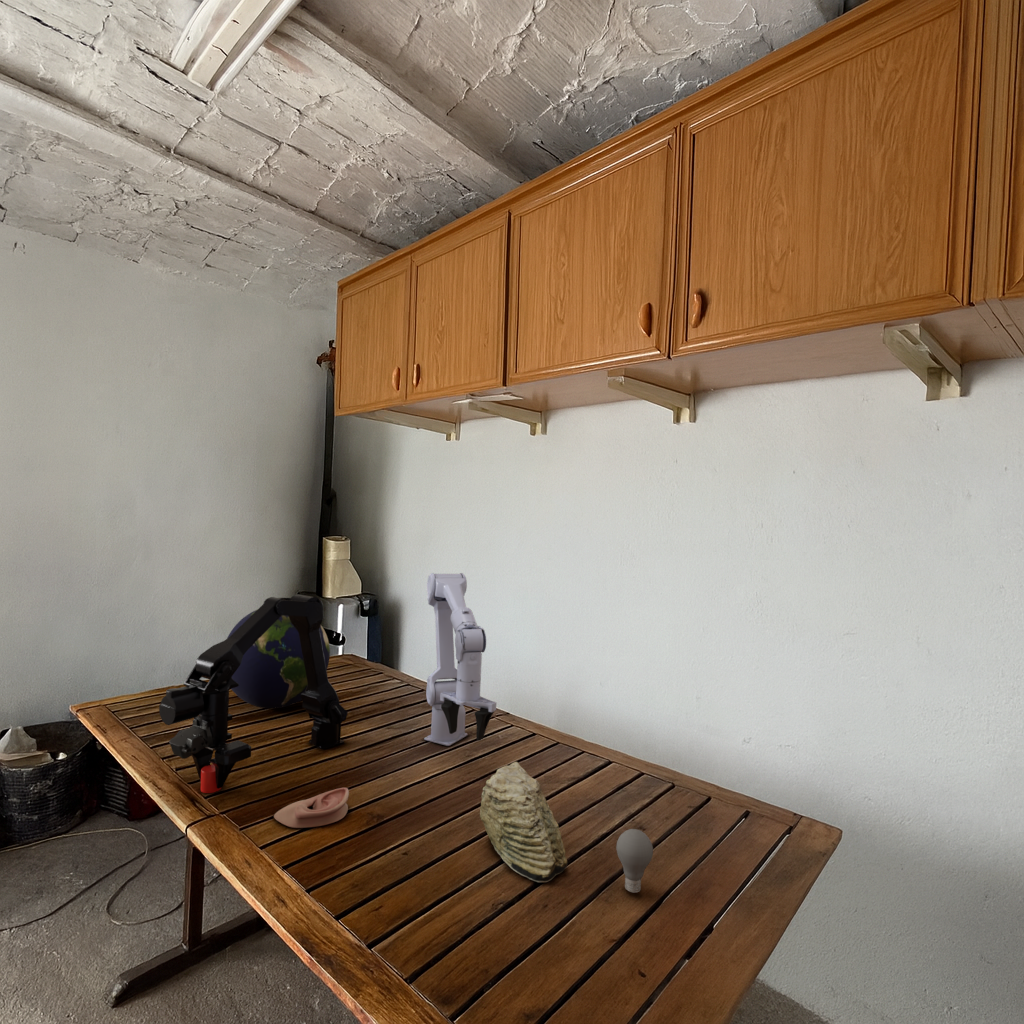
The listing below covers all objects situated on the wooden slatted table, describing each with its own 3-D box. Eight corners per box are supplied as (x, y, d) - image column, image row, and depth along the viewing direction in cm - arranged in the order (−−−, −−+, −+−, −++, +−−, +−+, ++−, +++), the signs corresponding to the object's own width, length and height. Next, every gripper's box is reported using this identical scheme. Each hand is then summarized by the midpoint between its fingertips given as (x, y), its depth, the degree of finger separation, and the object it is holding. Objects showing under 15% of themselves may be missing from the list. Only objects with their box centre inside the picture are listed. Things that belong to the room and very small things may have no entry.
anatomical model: (265, 803, 122) (297, 778, 133) (264, 823, 122) (296, 796, 133) (329, 813, 119) (356, 786, 130) (328, 833, 119) (355, 805, 130)
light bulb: (610, 879, 108) (613, 822, 108) (644, 879, 109) (647, 822, 109) (619, 902, 102) (622, 840, 102) (655, 901, 103) (658, 840, 103)
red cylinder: (197, 793, 133) (197, 772, 133) (205, 784, 137) (206, 764, 137) (216, 793, 133) (217, 772, 133) (224, 784, 137) (225, 764, 137)
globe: (289, 685, 209) (292, 594, 208) (348, 705, 191) (352, 606, 191) (199, 706, 185) (203, 604, 184) (258, 732, 167) (262, 619, 167)
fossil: (501, 827, 124) (504, 751, 124) (575, 868, 111) (578, 784, 111) (467, 843, 118) (470, 763, 118) (541, 889, 105) (545, 799, 105)
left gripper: (151, 712, 133) (149, 785, 133) (204, 732, 123) (201, 811, 123) (201, 699, 142) (199, 767, 143) (254, 717, 133) (251, 790, 133)
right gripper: (434, 677, 151) (431, 734, 151) (486, 688, 144) (484, 747, 144) (450, 671, 157) (448, 725, 157) (501, 681, 150) (499, 738, 150)
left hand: (211, 784), depth 135 cm, fingers open, 6 cm apart
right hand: (466, 735), depth 151 cm, fingers open, 7 cm apart
